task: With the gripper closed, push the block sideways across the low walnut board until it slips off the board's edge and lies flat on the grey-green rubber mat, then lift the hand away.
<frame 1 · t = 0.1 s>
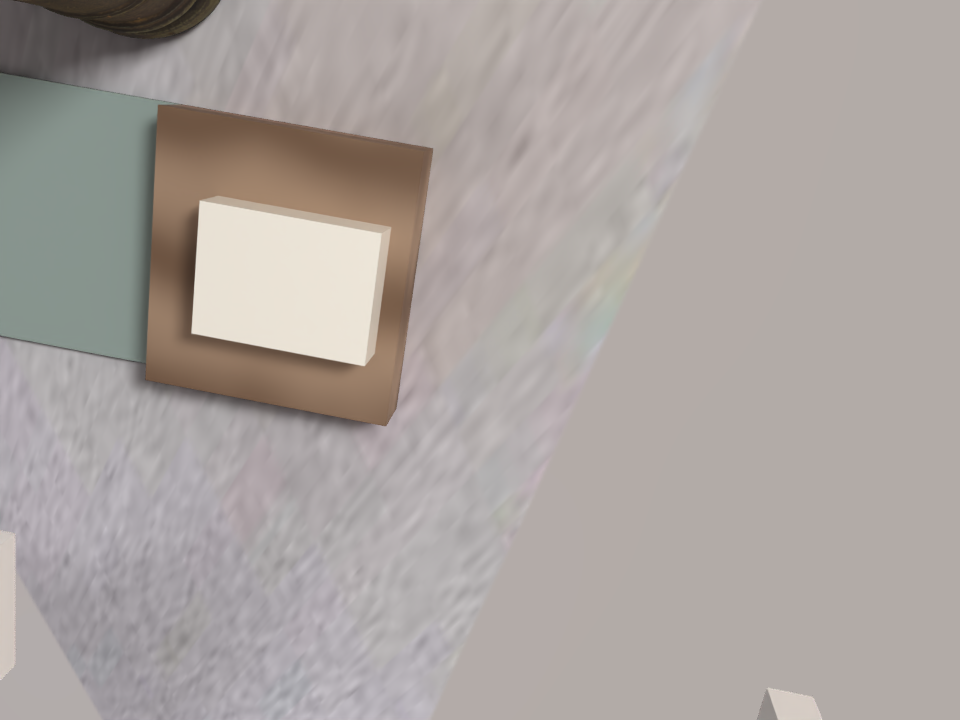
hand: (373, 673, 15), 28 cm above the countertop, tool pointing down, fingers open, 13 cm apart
board: (293, 262, 41), on the countertop
block: (297, 276, 39), point 2 cm above the countertop, touching board
mat: (68, 221, 42), on the countertop
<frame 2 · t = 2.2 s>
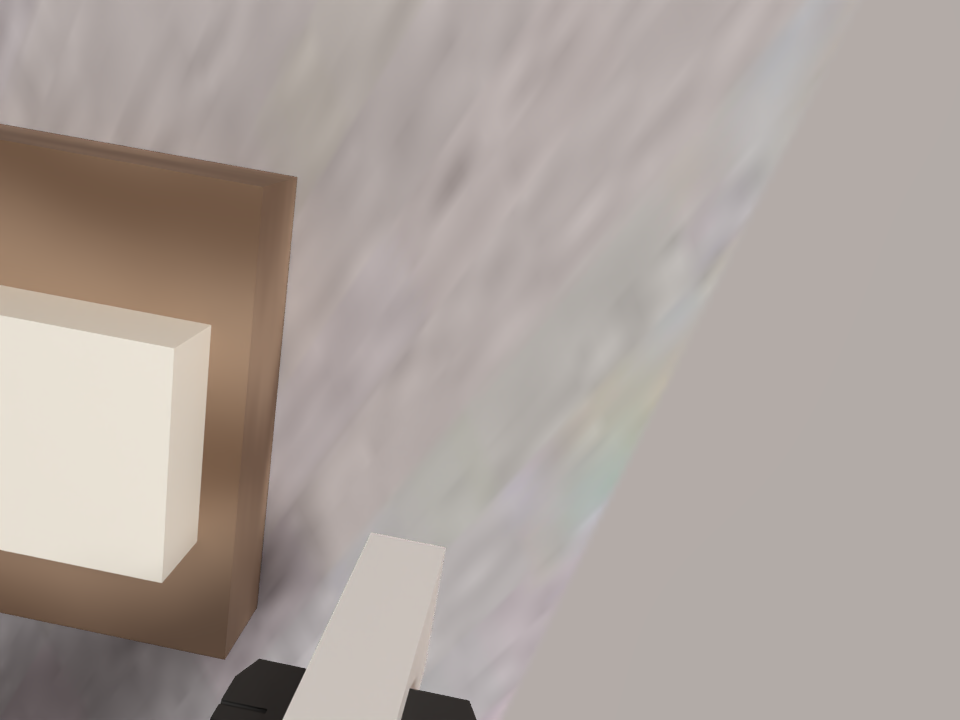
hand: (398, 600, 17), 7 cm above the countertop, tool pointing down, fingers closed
board: (70, 370, 24), on the countertop
block: (52, 408, 22), point 2 cm above the countertop, touching board
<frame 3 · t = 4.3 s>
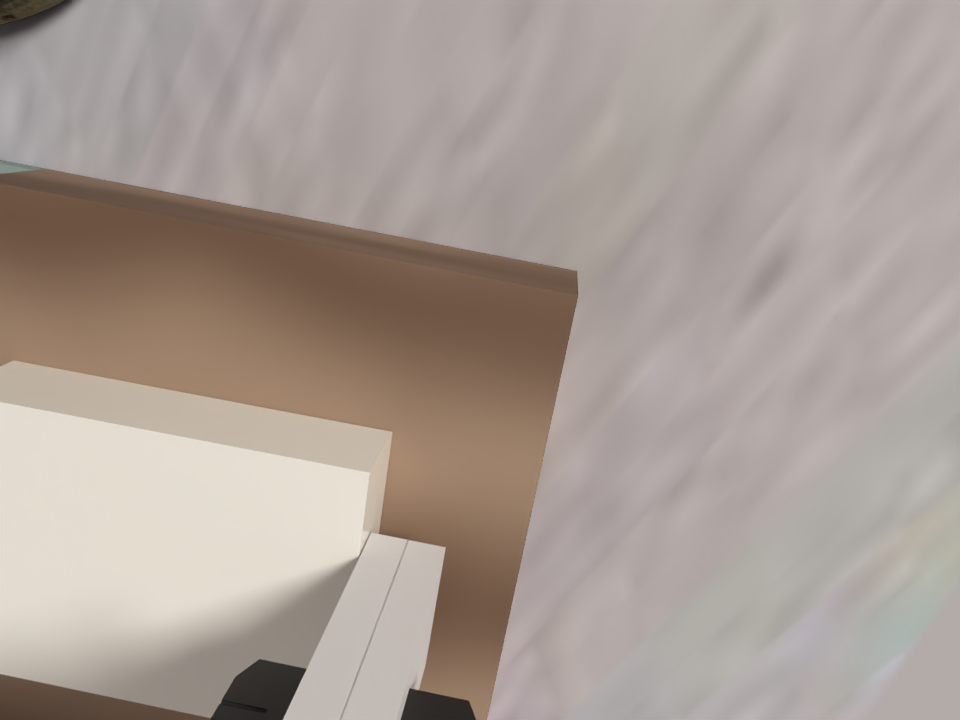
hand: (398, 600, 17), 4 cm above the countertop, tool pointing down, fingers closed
board: (276, 485, 20), on the countertop
block: (192, 526, 18), point 3 cm above the countertop, touching board
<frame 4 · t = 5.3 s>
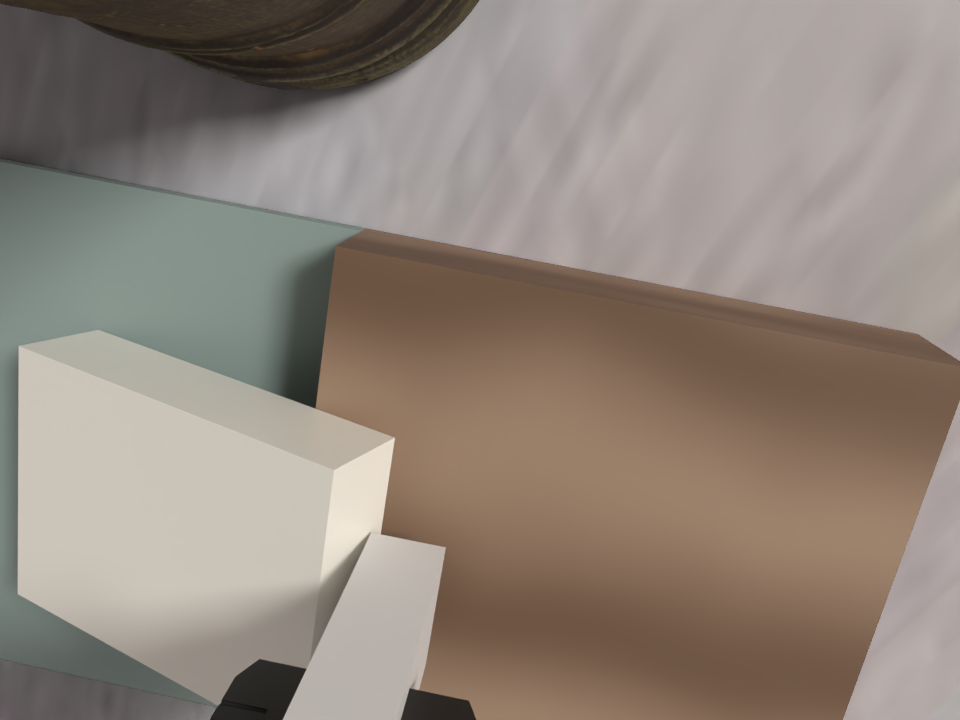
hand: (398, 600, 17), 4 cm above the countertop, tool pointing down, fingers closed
board: (575, 545, 20), on the countertop
block: (223, 505, 19), point 2 cm above the countertop, tilted 20°, touching gripper
mat: (111, 448, 21), on the countertop
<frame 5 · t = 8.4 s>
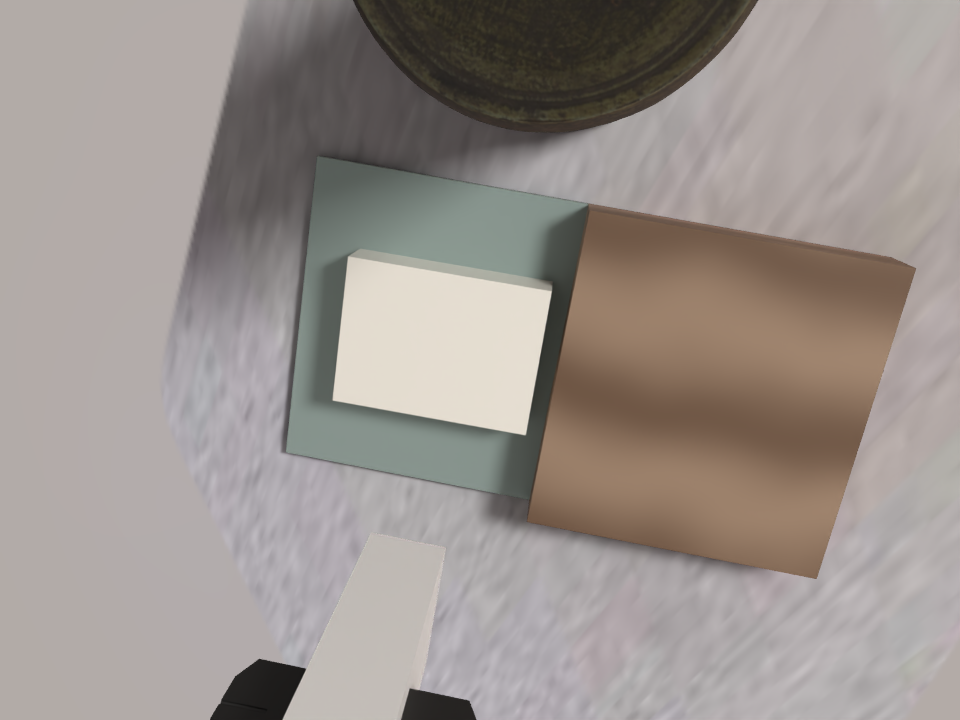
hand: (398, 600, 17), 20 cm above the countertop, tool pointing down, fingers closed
board: (699, 383, 35), on the countertop
block: (445, 335, 35), resting on mat
mat: (429, 333, 36), on the countertop
container: (563, 6, 32), on the countertop
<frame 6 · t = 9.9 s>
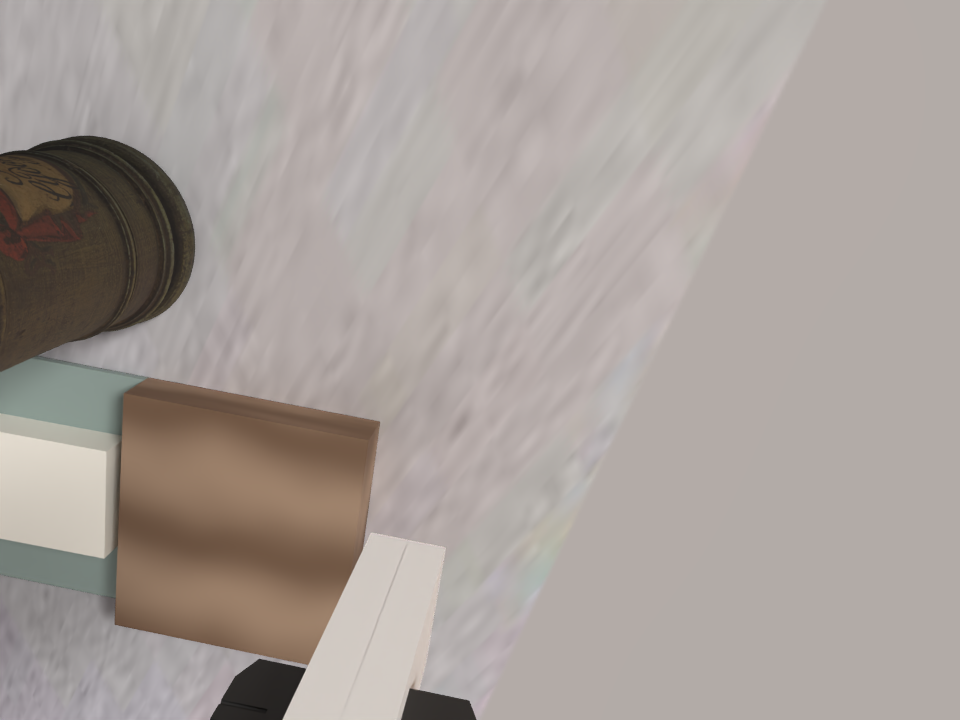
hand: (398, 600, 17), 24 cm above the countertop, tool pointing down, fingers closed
board: (253, 514, 44), on the countertop
block: (52, 475, 45), resting on mat
mat: (43, 472, 45), on the countertop
container: (110, 231, 41), on the countertop
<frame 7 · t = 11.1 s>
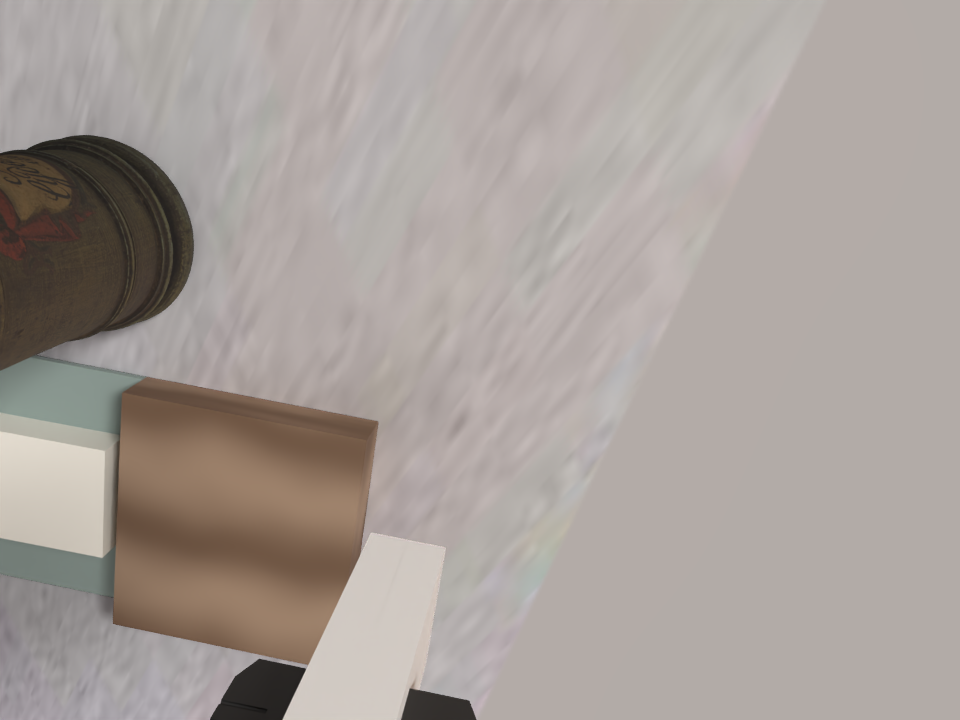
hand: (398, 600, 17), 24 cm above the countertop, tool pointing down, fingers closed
board: (251, 514, 44), on the countertop
block: (50, 474, 45), resting on mat
mat: (42, 472, 45), on the countertop
container: (109, 230, 41), on the countertop
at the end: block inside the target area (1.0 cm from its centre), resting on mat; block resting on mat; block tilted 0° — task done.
